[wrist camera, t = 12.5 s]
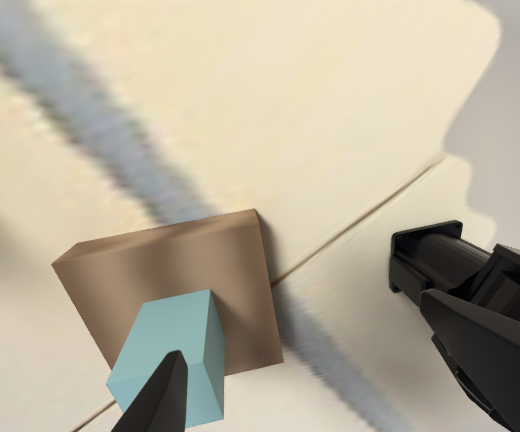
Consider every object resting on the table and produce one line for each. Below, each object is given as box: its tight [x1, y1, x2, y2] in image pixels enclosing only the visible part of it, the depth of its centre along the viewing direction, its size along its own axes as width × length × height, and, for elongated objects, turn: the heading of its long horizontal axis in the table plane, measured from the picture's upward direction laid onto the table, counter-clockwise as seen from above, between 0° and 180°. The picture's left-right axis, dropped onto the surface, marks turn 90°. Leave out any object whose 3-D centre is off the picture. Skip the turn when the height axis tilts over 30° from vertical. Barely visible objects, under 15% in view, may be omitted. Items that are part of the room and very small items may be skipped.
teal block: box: [106, 289, 225, 428], centre depth 16 cm, size 5×5×6 cm
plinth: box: [51, 209, 284, 376], centre depth 20 cm, size 14×14×3 cm
